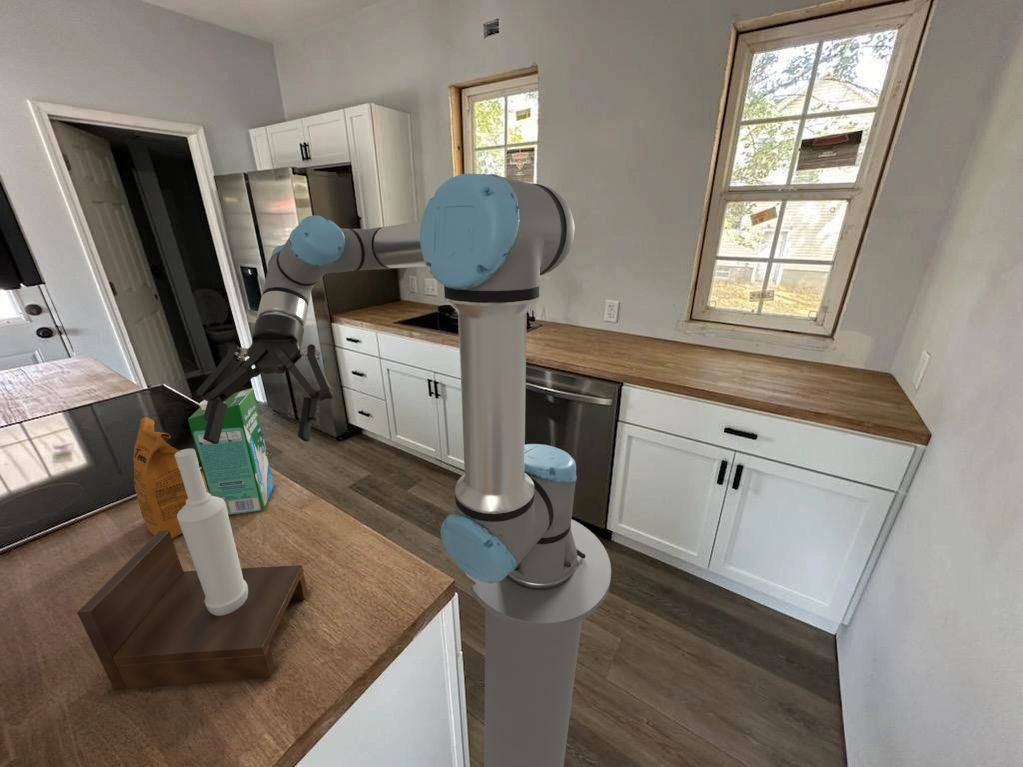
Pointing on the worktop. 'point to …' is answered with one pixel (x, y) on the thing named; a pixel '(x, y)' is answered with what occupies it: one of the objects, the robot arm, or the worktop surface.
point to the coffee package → (158, 480)
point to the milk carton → (235, 455)
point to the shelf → (184, 622)
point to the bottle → (210, 540)
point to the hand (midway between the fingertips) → (257, 440)
